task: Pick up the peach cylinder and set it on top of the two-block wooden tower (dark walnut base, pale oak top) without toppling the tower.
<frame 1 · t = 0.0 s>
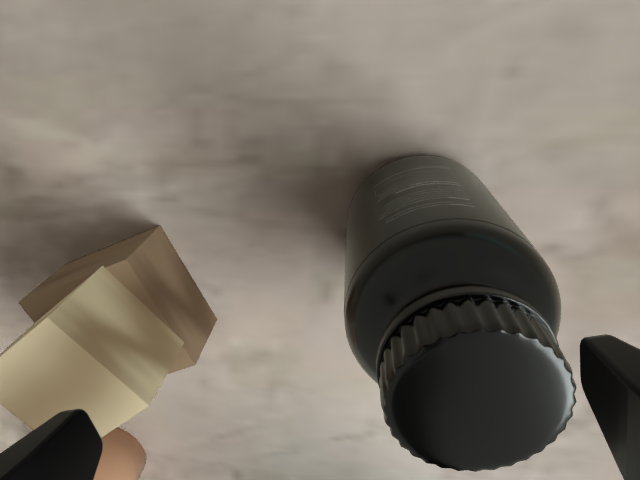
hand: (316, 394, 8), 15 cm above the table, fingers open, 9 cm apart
oak block: (109, 332, 22), point 4 cm above the table, touching walnut block
walnut block: (143, 290, 25), on the table, touching oak block
supplement bottle: (417, 220, 23), on the table
peach cylinder: (108, 451, 31), on the table
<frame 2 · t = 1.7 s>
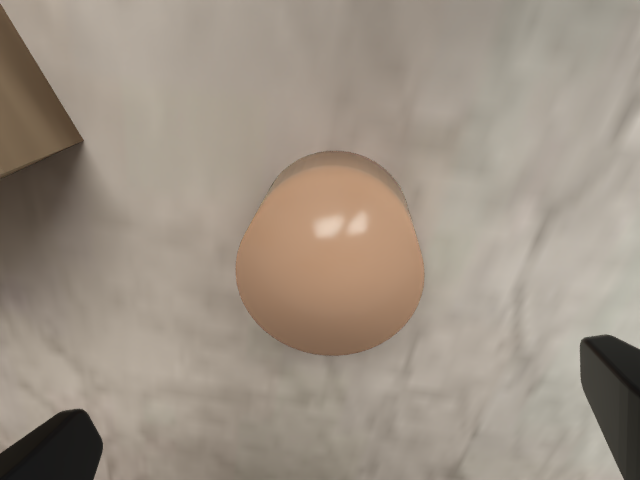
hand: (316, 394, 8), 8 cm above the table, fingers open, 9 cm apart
peach cylinder: (334, 222, 16), on the table
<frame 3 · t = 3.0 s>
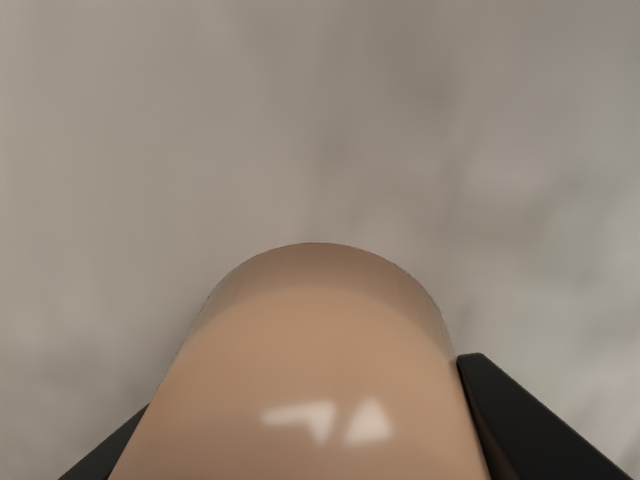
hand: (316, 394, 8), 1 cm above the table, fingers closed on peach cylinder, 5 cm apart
peach cylinder: (320, 357, 9), on the table, touching gripper
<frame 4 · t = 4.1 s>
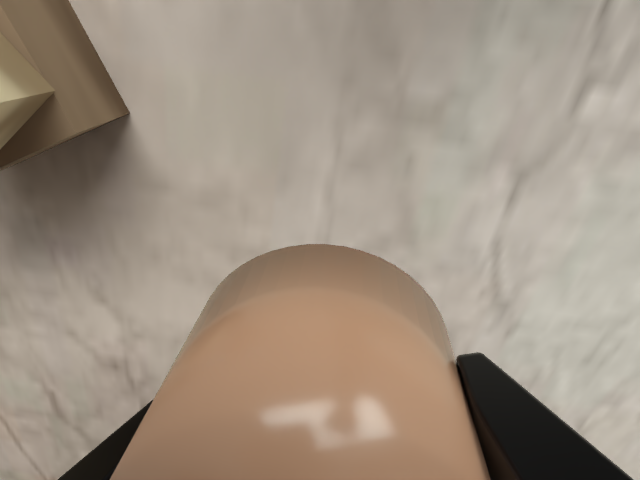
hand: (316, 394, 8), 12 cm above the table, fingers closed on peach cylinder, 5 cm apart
walnut block: (26, 67, 18), on the table, touching oak block
peach cylinder: (321, 358, 9), point 11 cm above the table, touching gripper
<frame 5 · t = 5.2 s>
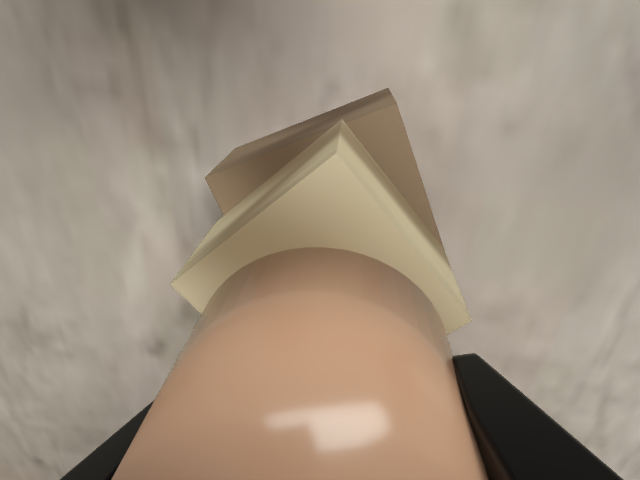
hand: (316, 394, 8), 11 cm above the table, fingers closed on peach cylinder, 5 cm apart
oak block: (329, 234, 15), point 4 cm above the table, touching walnut block
walnut block: (338, 192, 18), on the table, touching oak block
peach cylinder: (320, 360, 9), point 10 cm above the table, touching gripper
when the fingers open (11 cm above the table, at t = 5.5 s): peach cylinder drops 2 cm, resting on oak block.
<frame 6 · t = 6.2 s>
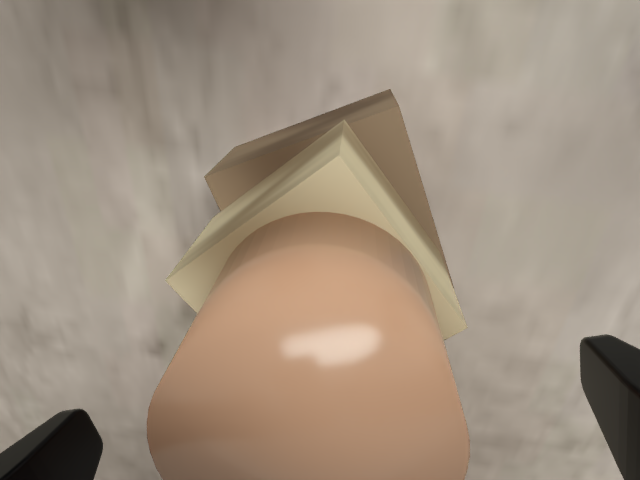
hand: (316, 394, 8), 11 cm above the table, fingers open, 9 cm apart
oak block: (326, 234, 14), point 4 cm above the table, touching peach cylinder
walnut block: (337, 192, 18), on the table
peach cylinder: (322, 312, 11), point 8 cm above the table, touching oak block
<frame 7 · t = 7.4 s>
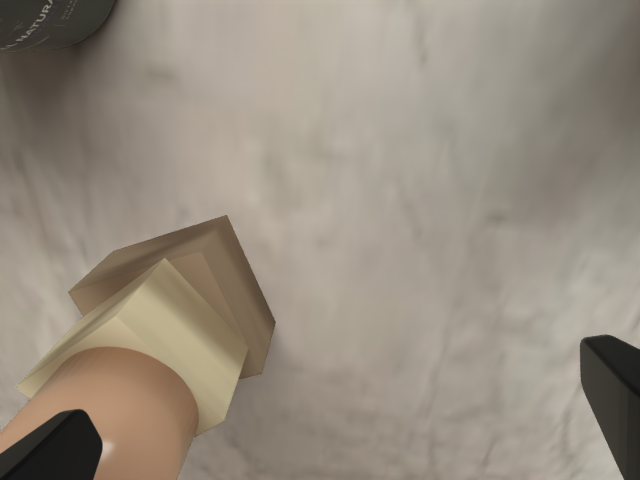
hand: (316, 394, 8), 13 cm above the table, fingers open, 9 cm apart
oak block: (164, 333, 19), point 4 cm above the table, touching peach cylinder, walnut block
walnut block: (197, 285, 23), on the table, touching oak block
peach cylinder: (125, 407, 16), point 8 cm above the table, touching oak block
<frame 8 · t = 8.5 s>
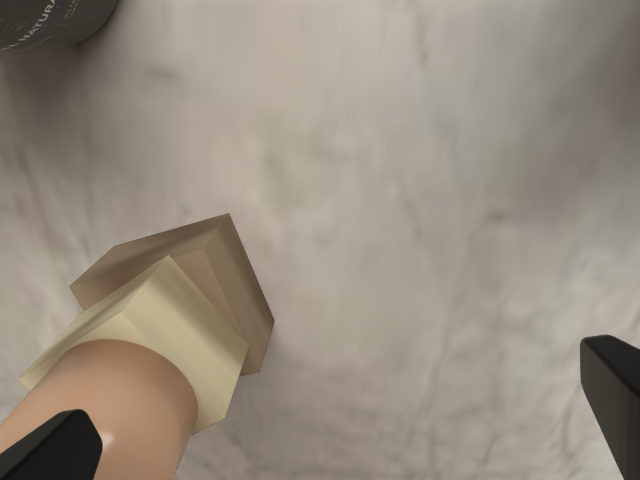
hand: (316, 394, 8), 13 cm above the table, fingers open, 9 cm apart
oak block: (165, 329, 19), point 4 cm above the table, touching peach cylinder, walnut block
walnut block: (197, 282, 23), on the table, touching oak block
peach cylinder: (124, 399, 16), point 8 cm above the table, touching oak block
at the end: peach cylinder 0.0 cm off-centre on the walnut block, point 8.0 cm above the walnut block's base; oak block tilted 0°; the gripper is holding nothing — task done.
